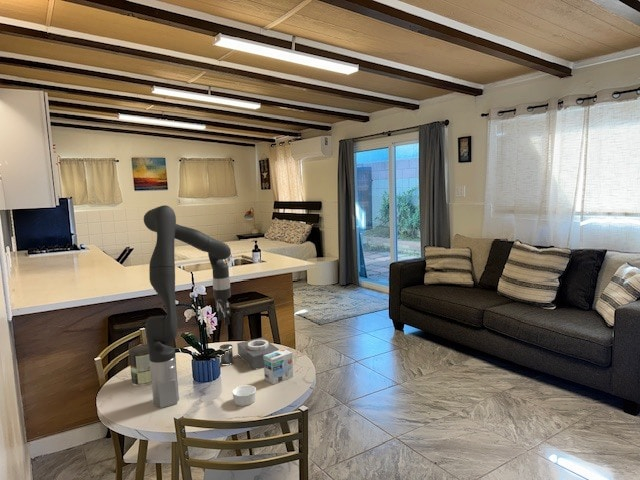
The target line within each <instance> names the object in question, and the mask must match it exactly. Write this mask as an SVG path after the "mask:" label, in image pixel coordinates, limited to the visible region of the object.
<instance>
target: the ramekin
mask: <svg viewBox="0 0 640 480" xmlns="http://www.w3.org/2000/svg"><path fill="white" fill-rule="evenodd" d="M231 393H232V398H233V403H234V404H235V405H236V406H238V407H246V406H249V405H252V404H254V402H256V394H257V388H256V386H253V385H251V384H250V385H249V384H245V385H239V386H237V387H236V386H235V388H234V389H233V390H232V391H231Z"/></svg>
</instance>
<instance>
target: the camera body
mask: <svg viewBox="0 0 640 480" xmlns="http://www.w3.org/2000/svg"><path fill="white" fill-rule="evenodd" d="M236 345H237V355H238V354H239V355H240V356H241V357H242V358H243V359H244V360H245V361H246V362H247V363H248V364H249V365H250V366H251V368H252V369H253V370H254V369H255V370H257V369H256V368H259V369H261V368H260V367H262V368H264V357H263V355H266V354H269V353H272V352H275V351H278V350H280V349H279V348H278V347H277V346H275V345H274V344H272V343H271V342H270V341H268V340H267V339H265V338H264V337H258V338H254V339H249V340H246V341H240V342H237V343H236ZM240 356H239V357H240ZM241 357H240V358H241ZM242 358H241V359H242ZM243 359H242V360H243ZM244 360H243V361H244ZM245 361H244V362H245ZM246 362H245V363H246ZM247 363H246V364H247ZM248 364H247V365H248ZM249 365H248V366H249ZM250 366H249V367H250Z"/></svg>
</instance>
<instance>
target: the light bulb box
mask: <svg viewBox="0 0 640 480" xmlns="http://www.w3.org/2000/svg"><path fill="white" fill-rule="evenodd" d="M263 357H264V367H263V371H264V372H263V374H264V380H265V381H267V382H268V383H269V384H271V385H276V384H278V383H280V382H283V381H286V380H288V379H289V380H290V379H292V378H294V367H293V365H294V364H293V363H294V362H293V352H292V351H289V350H287V349H286V348H281V349H279V350H278V351H275V352H272V353H269V354H266V355H263Z"/></svg>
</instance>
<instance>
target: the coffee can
mask: <svg viewBox="0 0 640 480" xmlns="http://www.w3.org/2000/svg"><path fill="white" fill-rule="evenodd" d="M128 355H129V366H130V375H131V384H132V386H135V387H142V386H143V387H144V386H147V385H152V381H151V370H150V359H149V351H148V343H146V344H140V345H136V346H133V347H131V348H130V349H129V350H128Z"/></svg>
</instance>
